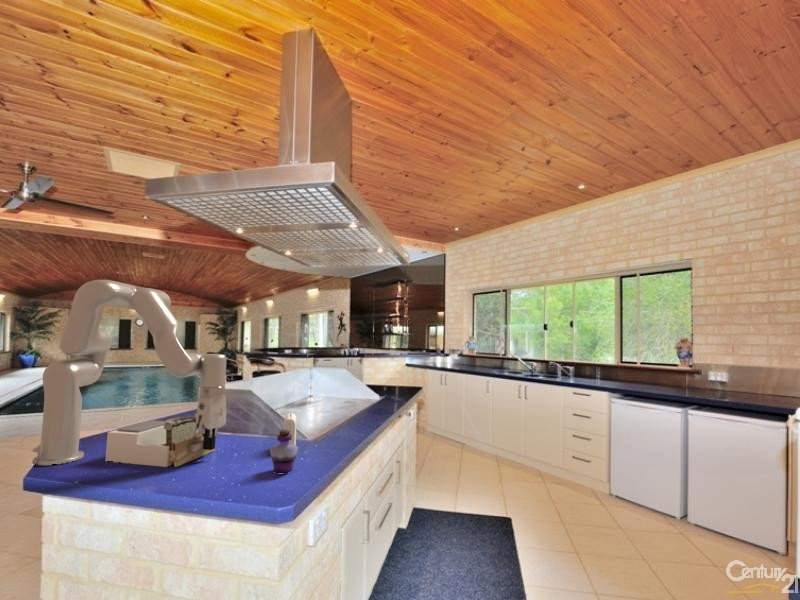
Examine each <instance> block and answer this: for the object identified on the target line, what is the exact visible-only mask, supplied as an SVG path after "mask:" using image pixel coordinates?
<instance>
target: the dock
mask: <svg viewBox="0 0 800 600" xmlns="http://www.w3.org/2000/svg"><path fill="white" fill-rule="evenodd" d="M166 421H167V420H147V421H143V422H141V423H140V422H139V423H137V424H131V425H128V426H125V427H120V428H117V429H116V430H111V431H108V432H107V437H106V449H105V462H107V461H113V462H112V463H118V462H121V464H129V463H130V465H131V464H132V465H142V466H144V465H145V466H153V467H154V466H155V467H165V468H166V467H169V466H172V465H174V462H172V461H169V448H170V446H163V445H162V444H165V443H166V429H164V425H165V423H166ZM199 435H202V434H198V431H196V437H197V436H199Z"/></svg>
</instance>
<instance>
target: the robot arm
mask: <svg viewBox="0 0 800 600" xmlns="http://www.w3.org/2000/svg"><path fill="white" fill-rule="evenodd" d="M171 306H172V300H171V297H170V296H169V295H168V294H167V293H166V292H165V291H163V290H160V289H155V288H150V287H143V286H139V285H133V284H129V283H125V282H120V281H115V280H111V279H94V280H90V281H88V282H85V283H83V284H82V285H81V286H80V287H79V288H78V289H77V290H76V292H75V294H74V297H73V301H72V305H71V309H70V313H69V315H68V317H67V321H66V322H65V327H64V330H63V331H62V334H61V338H60V340H59V349H60V351H61V352H62V353H63V354H65V355H67V356H72V357H76V358H67V359H66V358H64V359H59V360H56V361H53V362H51V363H49V365H47V366H46V367H45V369H44V371H43V374H42V385H43V392H44V394H43V395H44V396H43V397H44V400H43V412H42V413H43V414H42V424H41V425H42V426H41V436H40V444H38V446H36V447H34V448H32V452H33V453H37V456H36V457H33V458H32V462H31V463H32V465H35V464H36V463H37V461H38V460H39V459H40V460H39V461H38V463H37V464H38V465H37V464H36V465H35V466H53V465H52V464H57V465H61V464H62V463H63V464H68V463H73V462H75V461H78V460H81V459H82V458H84V457H85V452H84V451H82V450H79V448H80V447H79V445H80V435H81V424H82V423H81V422H82V412H83V409H82V408H83V397H82V393H81V391H80V388H81V387H84V386H85V387H86V386H89V385H90V386H91V385H92V384H94V383H96V382H97V381H98V380H99V378H100V377H101V375H102V373H103V371H104V367H105V364H106V361H107V358H108V356H109V352H110V349H111V346H112V340H111V335H110V333H109V332H108V331H107V330H106V329H104V328H101V327H100V324H101V322H102V318H103V309H102V307H112V308H120V309H121V308H122V309H127V310H133V311H135V312H136V314H137V315H138V317H139V318H140V320H141V322H143V324H144V325H145V327H146V328H147V331H149V333H150V334H151V336H152V339H153V344H154V345H153V346H154V349H155V353H156V355H157V357H158V359H159V361H161V363H162V364H163V366H164V368H165V369H166V370H167V371H168V373H170V374H171V375H172V376H173V377H175V378H180V379H182V378H183V379H184V378H188V377H193V376H197V375H200V381H199V383H200V384H199V398H198V402H197V406H196V414H195V417H196V428H197V432H198V434H202V435H203V437H204V442H203V449H204V450H212V449H215V450H216V440H215V439H216V438H217V437H216V436H217V435H218V430H219V429H221V428H222V426H224V425H225V424H226V422H227V398H226V393H225V390H226V374H227V373H226V371H227V356H226V355H225V354H222V353H206V354H205V353H200V352H187V351H185V349H184V348H183V347H182V345H181V343H180V342H179V339H178V337H177V330H178V328H179V321H178V320H177V319H176V317H175V315H174V314H173V313H172V311H171V310H170V309H171ZM42 455H43V456H42ZM41 456H42V457H41ZM72 461H73V462H72ZM67 462H68V463H67Z"/></svg>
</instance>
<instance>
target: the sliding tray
mask: <svg viewBox="0 0 800 600" xmlns="http://www.w3.org/2000/svg"><path fill="white" fill-rule="evenodd" d="M215 441H216V439H215ZM203 442H204V437H203V435H199V436H197V437H194V438H191V439H188V440H185V441H183V442H180V443H177V444H176V446H175V451H169V461H172V462H174V464H173V465H174V466H173V467H175V468H177V467H180V466H182V465H184V464H186V463H189V462H191V461H194V460H196V459H198V458H202V456H206V455H208V454H210V453H213V452H214V451H216V448H215V449H212V450H204V449H203ZM162 445H163V446H166V443H165V444H162Z"/></svg>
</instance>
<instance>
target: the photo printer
mask: <svg viewBox="0 0 800 600" xmlns="http://www.w3.org/2000/svg"><path fill="white" fill-rule="evenodd" d="M297 422H298V421H297V416H296V414H294V413H287V415H285V417H284V420H283V430H289V431H290V434H291V435H292V440H289V444H291V445H296V446H297V424H298V423H297Z"/></svg>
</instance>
